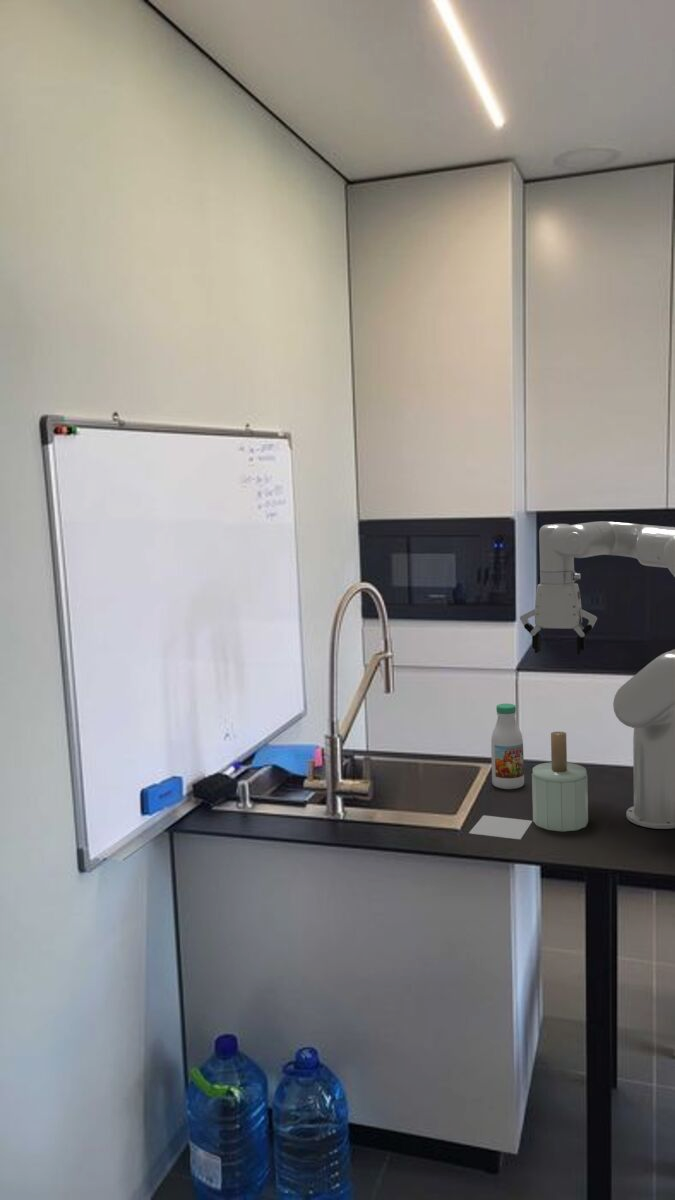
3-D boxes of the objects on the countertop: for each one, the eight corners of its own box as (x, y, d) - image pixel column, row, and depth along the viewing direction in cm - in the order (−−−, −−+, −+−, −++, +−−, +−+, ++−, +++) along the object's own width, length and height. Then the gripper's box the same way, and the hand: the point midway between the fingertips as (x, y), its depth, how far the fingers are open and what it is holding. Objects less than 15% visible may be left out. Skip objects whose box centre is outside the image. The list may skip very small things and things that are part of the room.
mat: (532, 823, 197) (532, 820, 197) (520, 842, 187) (520, 839, 187) (483, 817, 202) (483, 815, 202) (468, 835, 192) (468, 833, 192)
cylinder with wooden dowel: (591, 817, 199) (590, 728, 196) (582, 836, 189) (580, 742, 186) (540, 812, 203) (538, 725, 201) (528, 830, 193) (526, 738, 191)
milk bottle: (485, 785, 223) (483, 706, 221) (505, 777, 228) (502, 700, 226) (511, 792, 218) (509, 710, 215) (530, 784, 223) (528, 704, 220)
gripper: (598, 576, 206) (600, 650, 208) (523, 577, 213) (525, 648, 216) (593, 580, 199) (594, 657, 201) (515, 580, 207) (517, 654, 209)
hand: (558, 652), depth 208 cm, fingers open, 9 cm apart
